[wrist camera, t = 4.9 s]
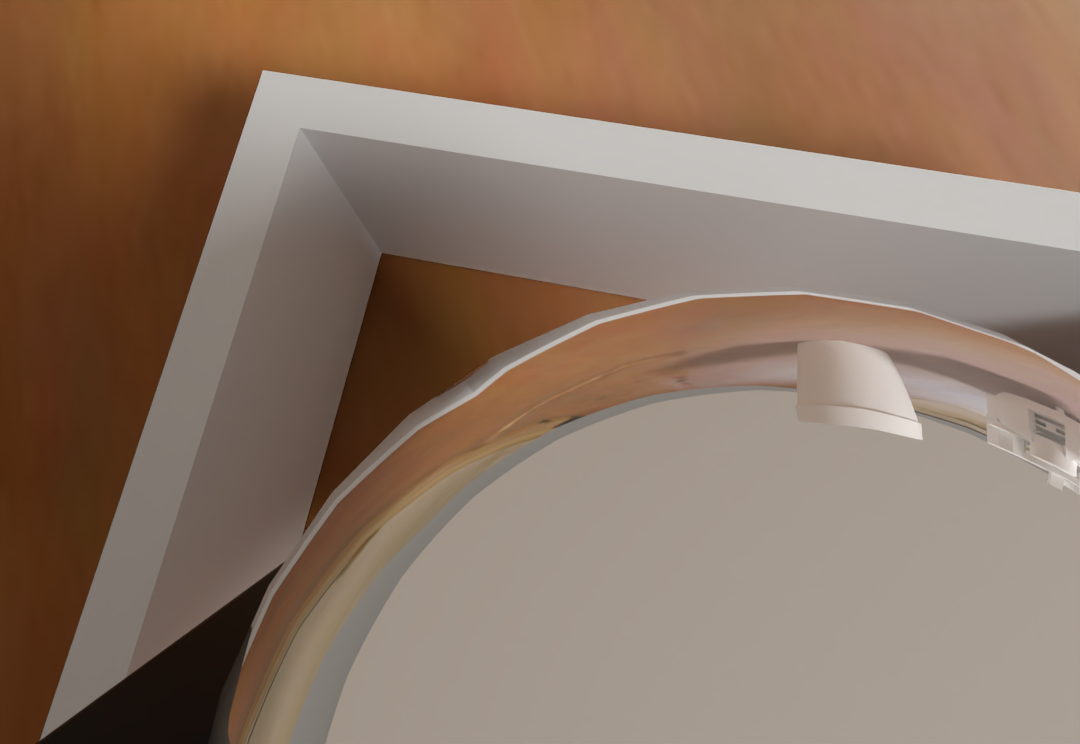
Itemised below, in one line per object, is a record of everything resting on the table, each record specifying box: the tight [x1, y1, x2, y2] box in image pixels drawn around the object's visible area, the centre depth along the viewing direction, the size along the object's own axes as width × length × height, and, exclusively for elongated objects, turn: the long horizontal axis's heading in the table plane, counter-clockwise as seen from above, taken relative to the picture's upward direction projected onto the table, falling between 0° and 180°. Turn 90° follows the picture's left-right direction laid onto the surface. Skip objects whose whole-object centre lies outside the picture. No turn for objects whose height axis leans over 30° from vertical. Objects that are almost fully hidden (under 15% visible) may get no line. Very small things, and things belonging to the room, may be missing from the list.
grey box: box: [40, 70, 1080, 740], centre depth 12 cm, size 15×15×4 cm
